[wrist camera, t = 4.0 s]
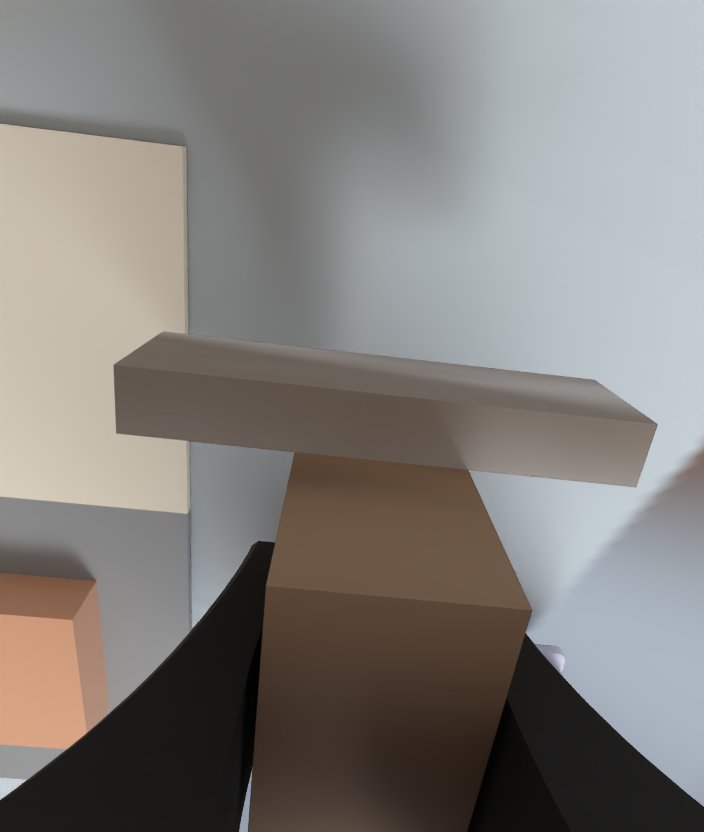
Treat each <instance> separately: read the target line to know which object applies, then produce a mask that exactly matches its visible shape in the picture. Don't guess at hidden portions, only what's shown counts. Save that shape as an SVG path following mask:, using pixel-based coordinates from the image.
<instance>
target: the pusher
mask: <svg viewBox="0 0 704 832" xmlns="http://www.w3.org/2000/svg"><path fill="white" fill-rule="evenodd" d="M113 370H114V394H115V418H116V434H125V435H134V436H144V437H154V438H163V439H173V440H183V441H192V442H202V443H212V444H222V445H231V446H241V447H251V448H260V449H270V450H280V451H289V452H295V454H294V459H293V463H292V468H291V472H290V477H289V482H288V486H287V491H286V496H285V500H284V505H283V510H282V514H281V519H280V523H279V528H278V533H277V537H276V542H275V547H274V551H273V556H272V560H271V565H270V570H269V574H268V579H267V584H266V593H265V606H264V620H263V634H262V647H261V661H260V674H259V688H258V701H257V715H256V728H255V742H254V755H253V770H252V782H251V796H250V809H249V810H250V811H249V824H248V832H467V830H468V827H469V824H470V820H471V817H472V813H473V810H474V807H475V803H476V800H477V796H478V793H479V790H480V786H481V783H482V779H483V776H484V772H485V769H486V766H487V762H488V759H489V755H490V752H491V749H492V745H493V742H494V738H495V735H496V732H497V728H498V725H499V721H500V718H501V714H502V711H503V708H504V704H505V701H506V697H507V694H508V691H509V687H510V684H511V680H512V677H513V673H514V670H515V667H516V663H517V660H518V656H519V653H520V650H521V646H522V643H523V639H524V636H525V633H526V629H527V626H528V622H529V619H530V615H531V612H532V609H531V607H530V604H529V602H528V600H527V598H526V596H525V594H524V591H523V589H522V587H521V585H520V583H519V580H518V578H517V576H516V574H515V572H514V569H513V567H512V565H511V563H510V561H509V558H508V556H507V554H506V552H505V550H504V547H503V545H502V543H501V541H500V539H499V537H498V534H497V532H496V530H495V528H494V526H493V523H492V521H491V519H490V517H489V515H488V512H487V510H486V508H485V506H484V504H483V501H482V499H481V497H480V495H479V493H478V490H477V488H476V486H475V484H474V482H473V480H472V477H471V475H470V473H469V471H468V470H473V471H483V472H493V473H502V474H512V475H522V476H531V477H541V478H551V479H560V480H570V481H580V482H589V483H599V484H609V485H619V486H628V487H636V486H637V483H638V480H639V477H640V475H641V472H642V469H643V466H644V463H645V460H646V457H647V454H648V451H649V448H650V445H651V443H652V440H653V437H654V434H655V431H656V428H657V425H658V424H657V423H655V422H654V421H652V420H651V419H650V418H648V417H647V416H645V415H644V414H642V413H641V412H640V411H638V410H637V409H635V408H634V407H632V406H631V405H630V404H628V403H627V402H625V401H624V400H623V399H621V398H620V397H618V396H617V395H615V394H614V393H613V392H611V391H610V390H608V389H607V388H605V387H604V386H603V385H601V384H600V383H598V382H597V381H595V380H591V379H582V378H573V377H564V376H555V375H546V374H538V373H529V372H520V371H511V370H502V369H493V368H484V367H475V366H467V365H458V364H449V363H440V362H431V361H422V360H413V359H404V358H396V357H387V356H378V355H369V354H360V353H351V352H342V351H334V350H325V349H316V348H307V347H298V346H289V345H280V344H271V343H263V342H254V341H245V340H236V339H227V338H218V337H209V336H200V335H192V334H183V333H174V332H165V331H163V332H161V333H160V334H158V335H157V336H155V337H154V338H152V339H151V340H149V341H148V342H146V343H145V344H143V345H142V346H140V347H139V348H137V349H136V350H134V351H133V352H132V353H130V354H129V355H127V356H126V357H124V358H123V359H121V360H120V361H118V362H117V363H115V364H114V365H113Z"/></svg>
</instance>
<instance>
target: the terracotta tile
mask: <svg viewBox="0 0 704 832" xmlns="http://www.w3.org/2000/svg"><path fill="white" fill-rule="evenodd" d="M108 708H109V699H108V689H107V679H106V669H105V659H104V649H103V639H102V629H101V619H100V609H99V600H98V590H97V581H90V580H78V579H66V578H55V577H43V576H32V575H20V574H8V573H0V744H1V745H15V746H29V747H43V748H57V749H68V748H69V747H70V746H72V745H73V744H74V743H75V742H76V741H78V740H79V739H80V738H81V737H82V736H84V735H85V734H86V733H87V732H88V731H90V730H91V729H92V728H93V727H94V726H95V725H97V724H98V723H99V722H100V721H101V720H102V719H103V718H104V717H105V715H106V713H107V710H108Z"/></svg>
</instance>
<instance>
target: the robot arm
mask: <svg viewBox="0 0 704 832" xmlns="http://www.w3.org/2000/svg"><path fill="white" fill-rule="evenodd" d="M274 547H275V543H274V542H263V541H258V542H256V543H255V544H253V545H252V547H251V549H250V551H249V553H248V554H247V556H246V558H245V559H244V561H243V563H242V564H241V566H240V567H239V569H238V570H237V572H236V573H235V575H234V576H233V578H232V579H231V580H230V582H229V583H228V585H227V586H226V588H225V589H224V590H223V591H222V593H221V594H220V595H219V597H218V598H217V599H216V601H215V602H214V603H213V605H212V606H211V607H210V608H209V610H208V611H207V612H206V614H205V615H204V616H203V617H202V618H201V620H200V621H199V622H198V623H197V624H196V625H195V627H194V628H193V629H192V630H191V631H190V632H189V634H188V635H187V636H186V637H185V638H184V639H183V640H182V642H181V643H180V644H179V645H178V646H177V647H176V648H175V650H174V651H173V652H172V653H171V654H170V655H169V656H168V657H167V658H166V659H165V660H164V661H163V662H162V663H161V664H160V665H159V667H158V668H157V669H156V670H155V671H154V672H153V673H152V674H151V675H150V676H149V677H148V678H147V679H146V680H144V681H143V682H142V683H141V684H140V685H139V686H138V687H137V688H136V689H135V690H134V691H133V692H132V693H131V694H130V695H129V696H128V697H127V698H126V699H125V700H123V701H122V702H121V703H120V704H119V705H118V706H117V707H116V708H115V709H113V710H112V711H111V712H110V713H109V714H108V715H107V716H106V717H104V718H103V719H102V720H101V721H100V722H99V723H98V724H97V725H95V726H94V727H93V728H92V729H91V730H90V731H88V732H87V733H86V734H85V735H84V736H82V737H81V738H80V739H79V740H78V741H76V742H75V743H74V744H73V745H72V746H70V747H69V748H68V749H66V750H65V751H64V752H63V753H61V754H60V755H59V756H57V757H56V758H55V759H53V760H52V761H51V762H50V763H48V764H47V765H46V766H44V767H43V768H42V769H41V770H39V771H38V772H37V773H35V774H34V775H33V776H32V777H30V778H29V779H28V780H26V781H25V782H24V783H22V784H21V785H20V786H19V787H17V788H16V789H15V790H13V791H12V792H11V793H9V794H8V795H6V796H5V797H4V798H2V799H1V800H0V832H239V828H240V821H241V816H242V811H243V807H244V801H245V797H246V792H247V787H248V783H249V779H250V774H251V771H252V767H253V755H254V742H255V728H256V715H257V701H258V688H259V674H260V661H261V647H262V634H263V620H264V606H265V593H266V584H267V579H268V574H269V570H270V565H271V560H272V556H273V551H274ZM565 659H566V658H565V656H564V653H563V652H562V649H560V648H559V647H556V646H549V645H536V644H534V643H533V642H532V641H531V639H530V638H529V637H528V636H527V634H526V633H525V636H524V639H523V643H522V646H521V650H520V653H519V656H518V660H517V663H516V667H515V670H514V673H513V677H512V680H511V684H510V687H509V691H508V694H507V697H506V701H505V704H504V708H503V711H502V714H501V718H500V721H499V725H498V728H497V732H496V735H495V738H494V742H493V745H492V749H491V752H490V755H489V759H488V762H487V766H486V769H485V772H484V776H483V779H482V783H481V786H480V790H479V793H478V796H477V800H476V803H475V807H474V810H473V813H472V817H471V820H470V824H469V827H468V830H467V832H704V807H703V806H702V805H701V804H700V803H698V802H697V801H696V800H695V799H693V798H692V797H691V796H690V795H688V794H687V793H686V792H685V791H684V790H682V789H681V788H680V787H679V786H678V785H676V784H675V783H674V782H673V781H672V780H671V779H669V778H668V777H667V776H666V775H665V774H663V773H662V772H661V771H660V770H659V769H658V768H657V767H655V766H654V765H653V764H652V763H651V762H649V761H648V760H647V759H646V758H645V757H644V756H643V755H642V754H640V753H639V752H638V751H637V750H636V749H635V748H634V747H633V746H632V745H631V744H630V743H628V742H627V741H626V740H625V739H624V738H623V737H622V736H621V735H620V734H619V733H618V732H617V731H616V730H615V729H613V728H612V727H611V725H610V724H608V723H607V722H606V721H605V720H604V719H603V718H602V717H601V716H600V715H599V714H598V713H597V712H596V711H595V710H594V709H593V708H592V707H591V706H590V705H589V704H588V703H587V702H586V701H585V700H584V699H583V698H582V697H581V696H580V695H579V694H578V693H577V692H576V691H575V689H574V688H573V687H572V686H571V685H570V684H569V683H568V682H567V681H566V680H565V679H564V678H563V676H562V673H561V671H562V669H563V666H564V663H565Z"/></svg>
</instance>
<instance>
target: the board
mask: <svg viewBox="0 0 704 832" xmlns="http://www.w3.org/2000/svg"><path fill="white" fill-rule="evenodd" d="M163 331H165V332H174V333H183V334H188V248H187V154H186V147H183V146H176V145H167V144H159V143H151V142H143V141H135V140H127V139H119V138H111V137H103V136H95V135H87V134H79V133H71V132H63V131H55V130H47V129H39V128H30V127H22V126H14V125H6V124H0V573H8V574H20V575H32V576H43V577H55V578H66V579H78V580H90V581H97V590H98V600H99V609H100V619H101V629H102V639H103V649H104V659H105V669H106V679H107V689H108V699H109V708H108V710H107V713H106V715H105V717H106V716H107V715H108V714H109V713H110V712H111V711H112V710H113V709H115V708H116V707H117V706H118V705H119V704H120V703H121V702H122V701H123V700H125V699H126V698H127V697H128V696H129V695H130V694H131V693H132V692H133V691H134V690H135V689H136V688H137V687H138V686H139V685H140V684H141V683H142V682H143V681H144V680H146V679H147V678H148V677H149V676H150V675H151V674H152V673H153V672H154V671H155V670H156V669H157V668H158V667H159V665H160V664H161V663H162V662H163V661H164V660H165V659H166V658H167V657H168V656H169V655H170V654H171V653H172V652H173V651H174V650H175V648H176V647H177V646H178V645H179V644H180V643H181V642H182V640H183V639H184V638H185V637H186V636H187V635H188V634H189V632H190V631H191V630H192V626H191V532H190V441H183V440H173V439H163V438H154V437H144V436H134V435H125V434H116V418H115V394H114V370H113V365H114V364H115V363H117V362H118V361H120V360H121V359H123V358H124V357H126V356H127V355H129V354H130V353H132V352H133V351H134V350H136V349H137V348H139V347H140V346H142V345H143V344H145V343H146V342H148V341H149V340H151V339H152V338H154V337H155V336H157V335H158V334H160V333H161V332H163ZM65 750H66V749H57V748H43V747H29V746H15V745H1V744H0V778H14V779H29V778H30V777H32V776H33V775H34V774H35V773H37V772H38V771H39V770H41V769H42V768H43V767H44V766H46V765H47V764H48V763H50V762H51V761H52V760H53V759H55V758H56V757H57V756H59V755H60V754H61V753H63V752H64V751H65Z"/></svg>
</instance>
